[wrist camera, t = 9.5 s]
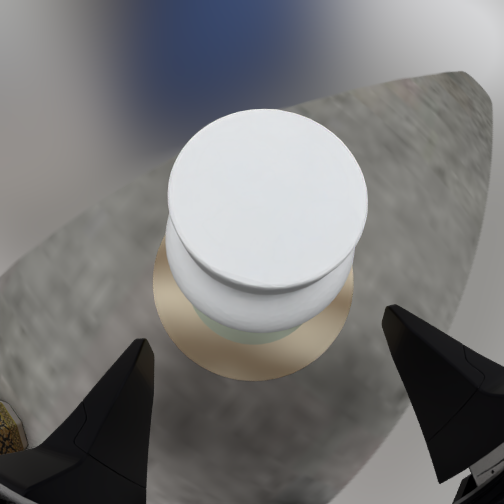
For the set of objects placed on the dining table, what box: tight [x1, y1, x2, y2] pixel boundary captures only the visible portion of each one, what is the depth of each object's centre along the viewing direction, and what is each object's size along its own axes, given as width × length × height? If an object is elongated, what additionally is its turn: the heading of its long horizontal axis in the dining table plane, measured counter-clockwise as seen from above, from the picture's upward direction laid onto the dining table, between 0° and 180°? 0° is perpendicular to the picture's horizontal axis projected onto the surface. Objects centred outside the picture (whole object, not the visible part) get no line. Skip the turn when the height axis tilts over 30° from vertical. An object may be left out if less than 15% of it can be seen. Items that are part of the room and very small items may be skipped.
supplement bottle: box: [165, 109, 368, 333], centre depth 12 cm, size 7×7×13 cm
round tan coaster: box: [153, 234, 353, 381], centre depth 19 cm, size 14×14×1 cm
